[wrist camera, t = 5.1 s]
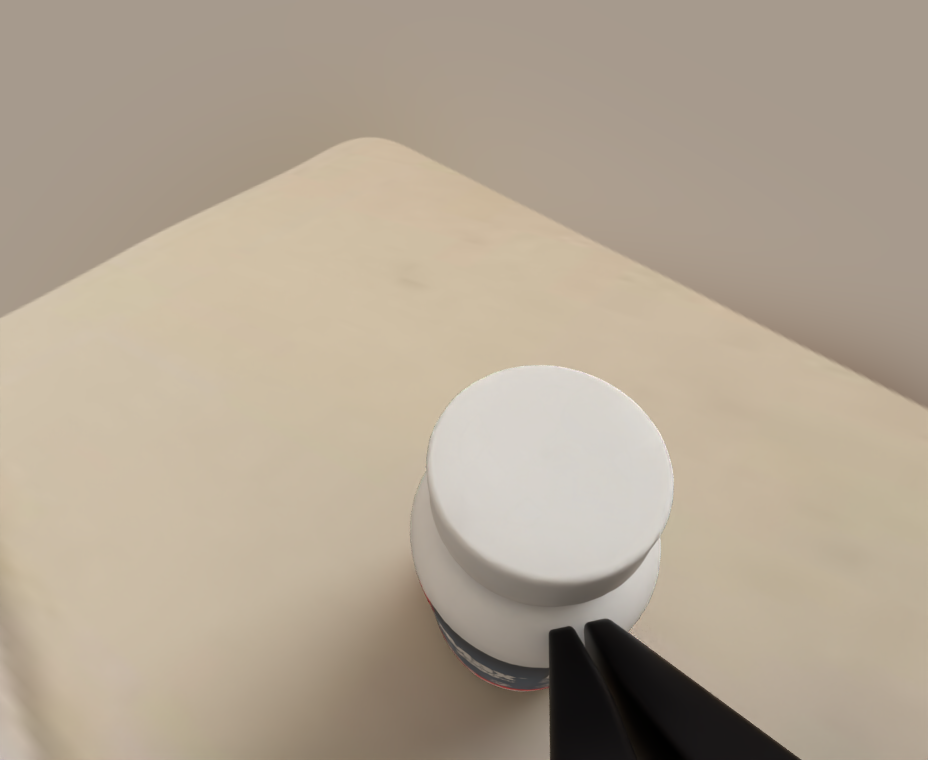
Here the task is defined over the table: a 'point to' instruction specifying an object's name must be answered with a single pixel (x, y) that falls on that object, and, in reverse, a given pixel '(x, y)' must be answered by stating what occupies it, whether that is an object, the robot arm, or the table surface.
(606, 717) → the robot arm
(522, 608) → the pill bottle
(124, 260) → the table surface
